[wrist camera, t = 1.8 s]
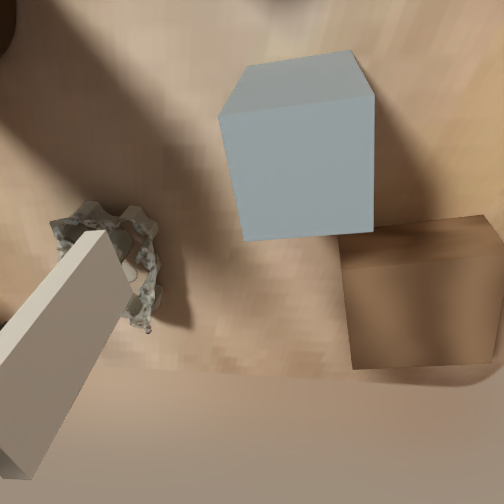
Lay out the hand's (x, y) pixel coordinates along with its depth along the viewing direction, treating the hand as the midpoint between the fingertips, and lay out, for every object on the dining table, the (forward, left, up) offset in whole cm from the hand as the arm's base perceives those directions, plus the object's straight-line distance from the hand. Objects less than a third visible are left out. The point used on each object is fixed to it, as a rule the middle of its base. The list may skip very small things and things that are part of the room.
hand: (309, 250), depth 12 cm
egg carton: (-16, -10, -16) cm, 25 cm away
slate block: (0, 0, -16) cm, 16 cm away
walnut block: (+7, -14, -16) cm, 22 cm away
